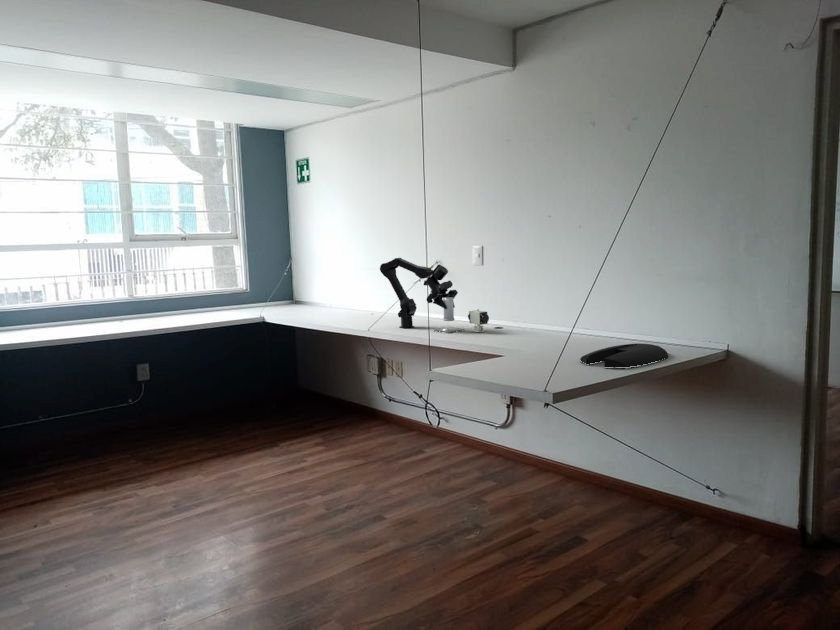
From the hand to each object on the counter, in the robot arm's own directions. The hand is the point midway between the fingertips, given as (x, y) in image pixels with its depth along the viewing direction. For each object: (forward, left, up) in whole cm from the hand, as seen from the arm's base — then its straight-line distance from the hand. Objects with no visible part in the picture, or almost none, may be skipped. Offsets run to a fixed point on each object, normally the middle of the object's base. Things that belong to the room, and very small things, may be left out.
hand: (450, 308), depth 357 cm
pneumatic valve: (+14, +7, -13) cm, 20 cm away
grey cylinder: (-1, 0, -7) cm, 7 cm away
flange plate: (-2, 0, -12) cm, 13 cm away
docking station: (+110, -2, -13) cm, 111 cm away
